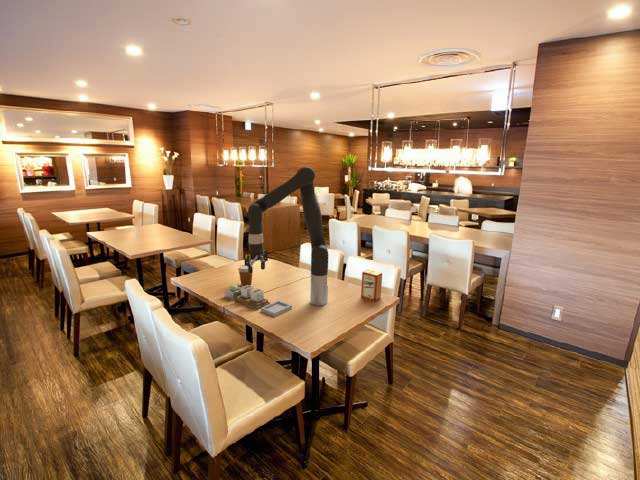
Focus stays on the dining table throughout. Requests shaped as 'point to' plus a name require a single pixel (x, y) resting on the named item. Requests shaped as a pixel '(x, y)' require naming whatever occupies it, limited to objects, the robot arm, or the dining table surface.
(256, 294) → the block
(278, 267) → the dining table surface
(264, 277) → the dining table surface
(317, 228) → the robot arm
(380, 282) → the baking soda box
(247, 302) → the frame
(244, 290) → the block
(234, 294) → the grey button housing
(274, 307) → the tray
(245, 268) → the disposable coffee cup
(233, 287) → the button
